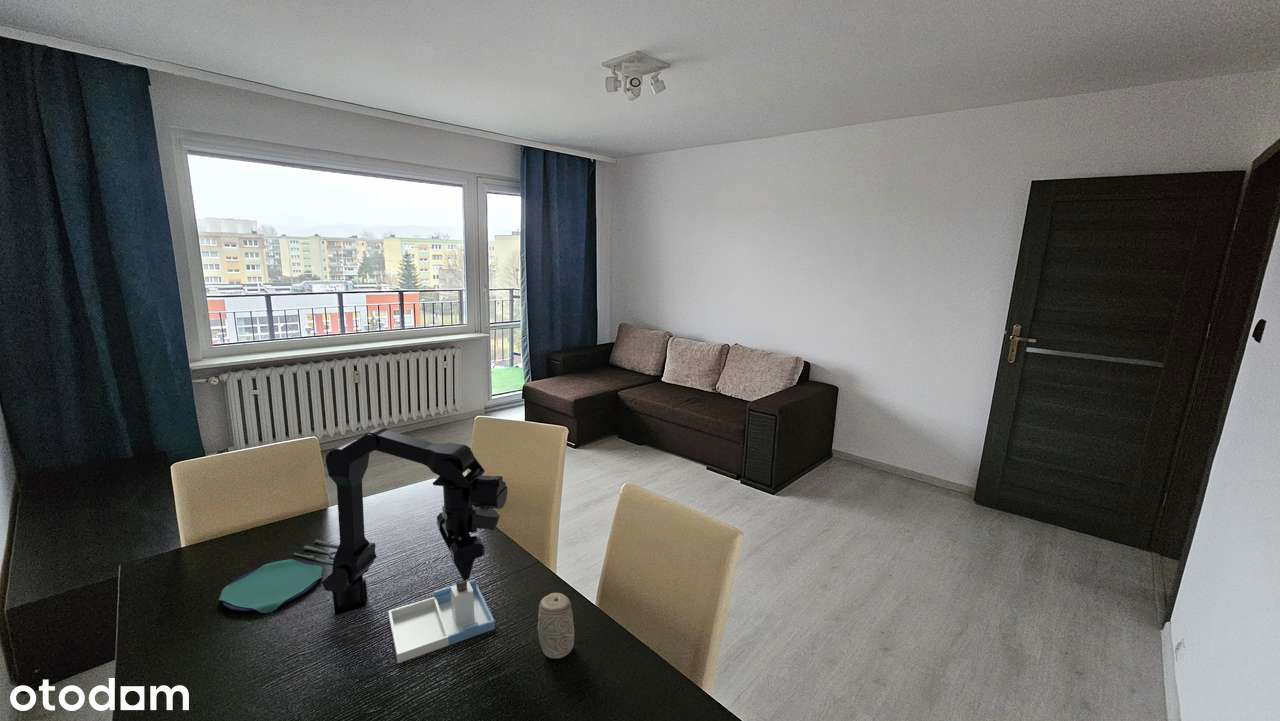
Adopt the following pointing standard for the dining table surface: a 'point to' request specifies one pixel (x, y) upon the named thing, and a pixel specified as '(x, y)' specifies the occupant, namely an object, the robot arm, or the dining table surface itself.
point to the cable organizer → (435, 624)
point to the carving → (556, 625)
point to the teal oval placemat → (274, 583)
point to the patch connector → (462, 602)
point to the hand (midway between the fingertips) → (461, 568)
